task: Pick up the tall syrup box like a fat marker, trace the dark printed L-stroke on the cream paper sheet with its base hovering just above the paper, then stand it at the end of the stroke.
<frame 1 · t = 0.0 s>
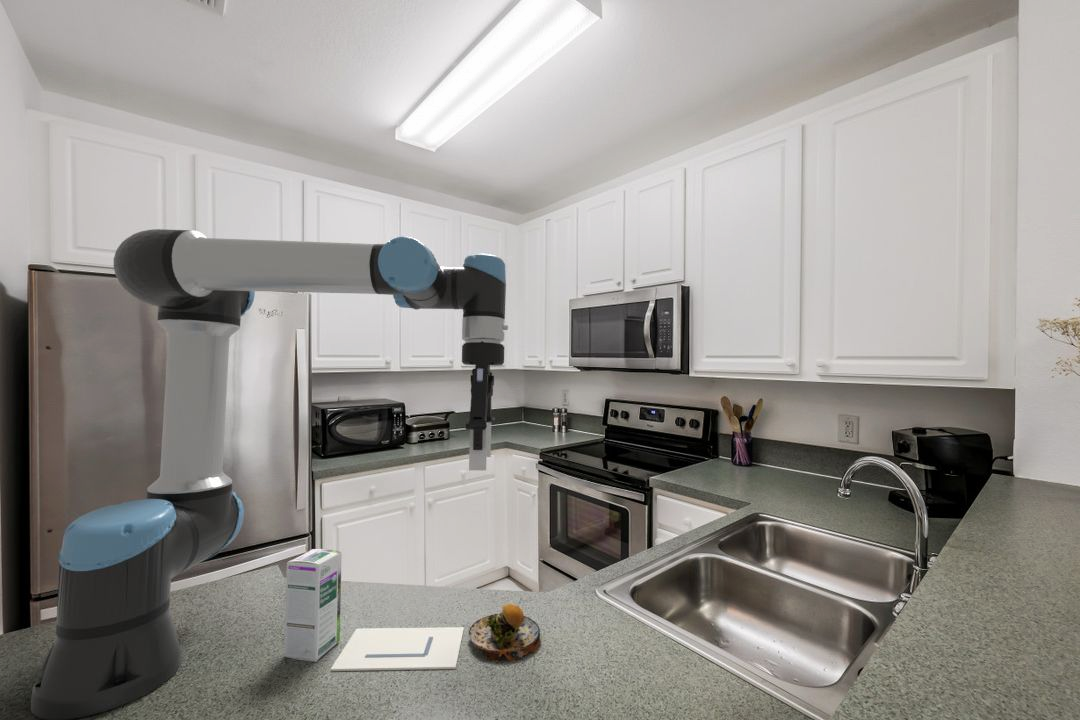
hand: (480, 463, 81), 28 cm above the worktop, fingers open, 13 cm apart
paper: (402, 648, 72), on the worktop
syrup box: (311, 651, 72), on the worktop
salad plate: (504, 643, 75), on the worktop
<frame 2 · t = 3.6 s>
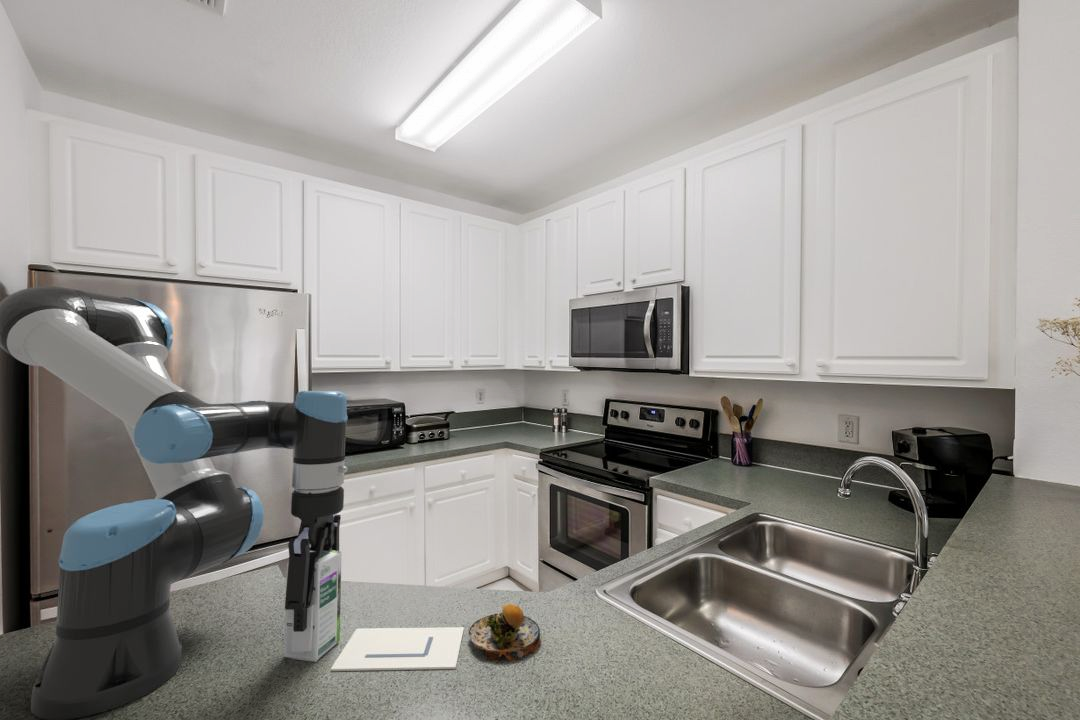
hand: (312, 636, 72), 2 cm above the worktop, fingers closed on syrup box, 6 cm apart
syrup box: (311, 651, 72), on the worktop, touching gripper
everything else where it was.
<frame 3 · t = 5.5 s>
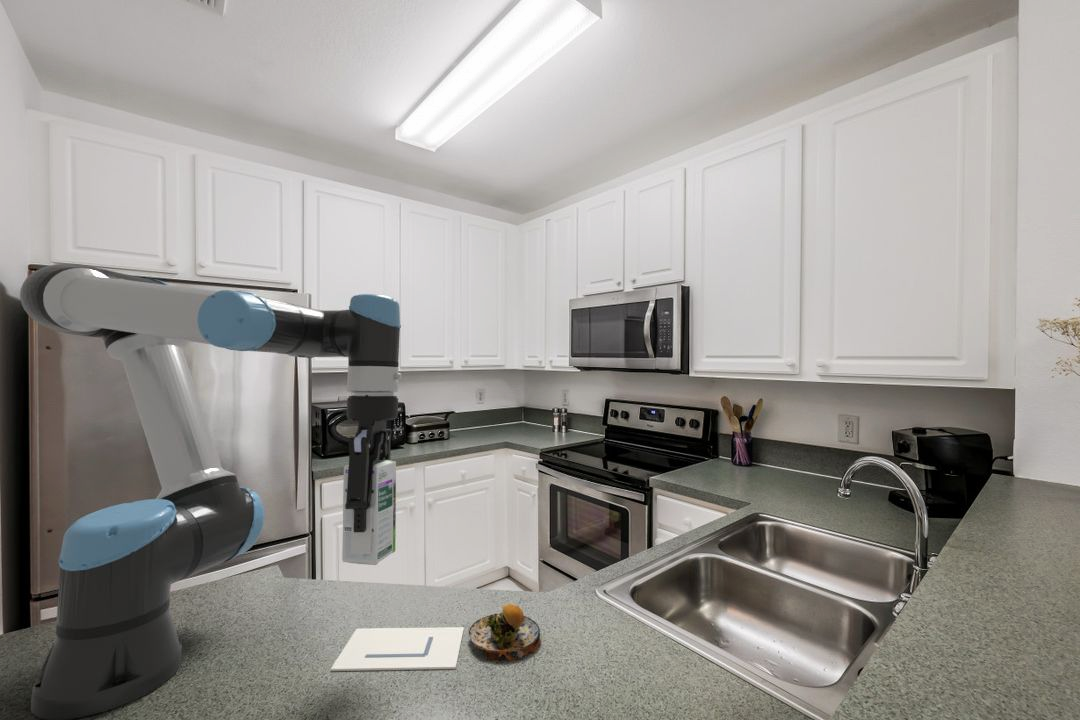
hand: (369, 544, 71), 17 cm above the worktop, fingers closed on syrup box, 6 cm apart
syrup box: (368, 558, 70), point 15 cm above the worktop, touching gripper
everything else where it was.
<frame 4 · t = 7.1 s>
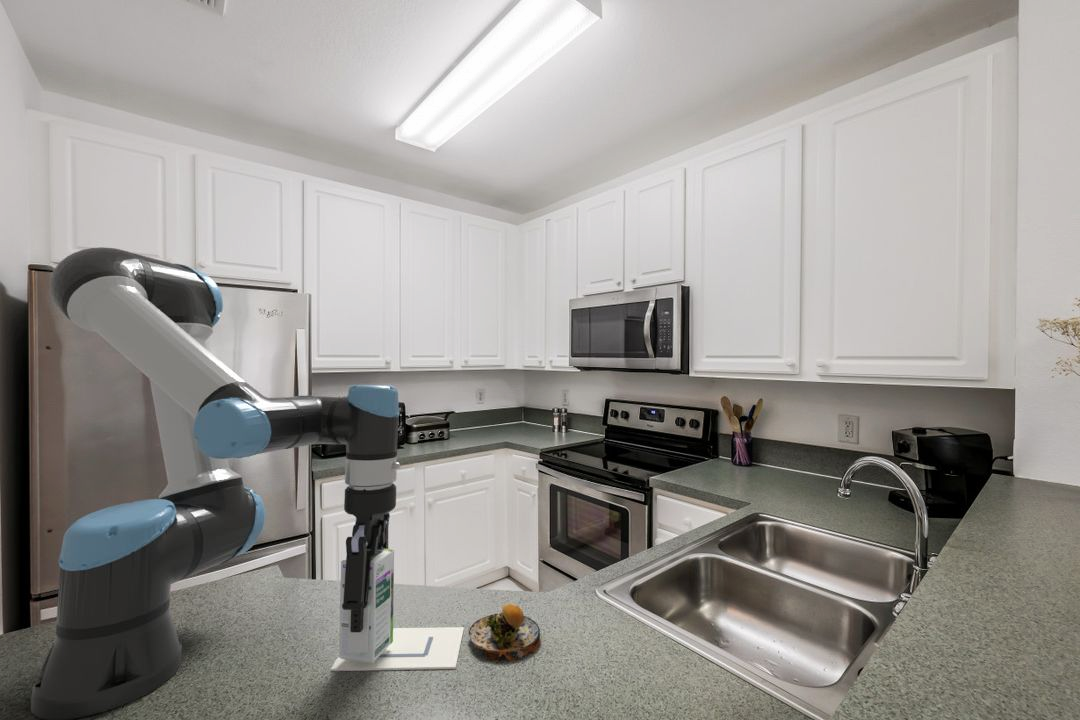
hand: (366, 637, 70), 3 cm above the worktop, fingers closed on syrup box, 6 cm apart
syrup box: (365, 652, 70), point 1 cm above the worktop, touching gripper
everything else where it was.
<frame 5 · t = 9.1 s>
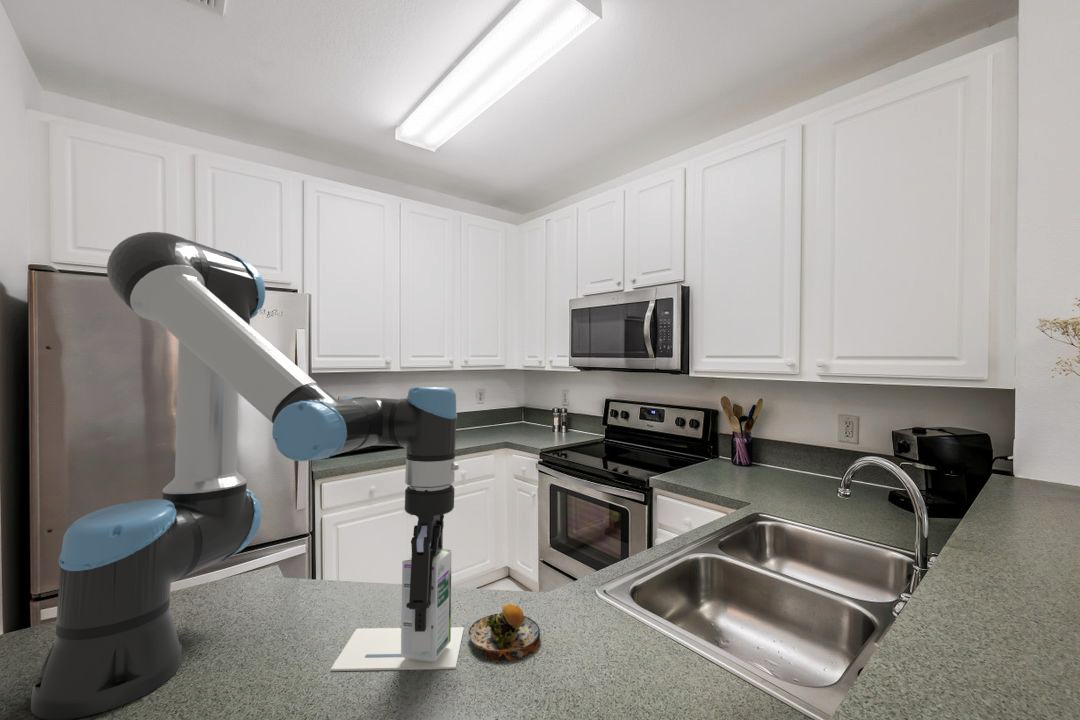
hand: (425, 636, 71), 3 cm above the worktop, fingers closed on syrup box, 6 cm apart
syrup box: (425, 651, 70), point 1 cm above the worktop, touching gripper
everything else where it was.
when the fingers open (3 cm above the worktop, at t = 10.9 s): syrup box stays where it is, resting on paper.
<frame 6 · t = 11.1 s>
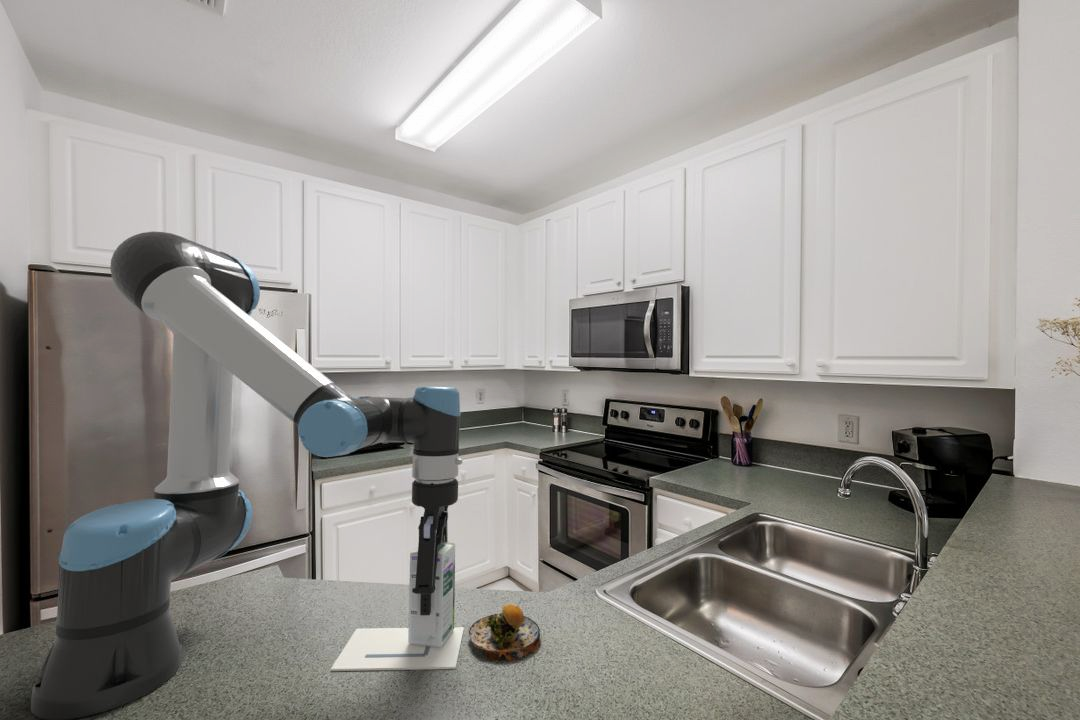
hand: (431, 617, 75), 3 cm above the worktop, fingers open, 9 cm apart
syrup box: (431, 638, 75), resting on paper
everything else where it was.
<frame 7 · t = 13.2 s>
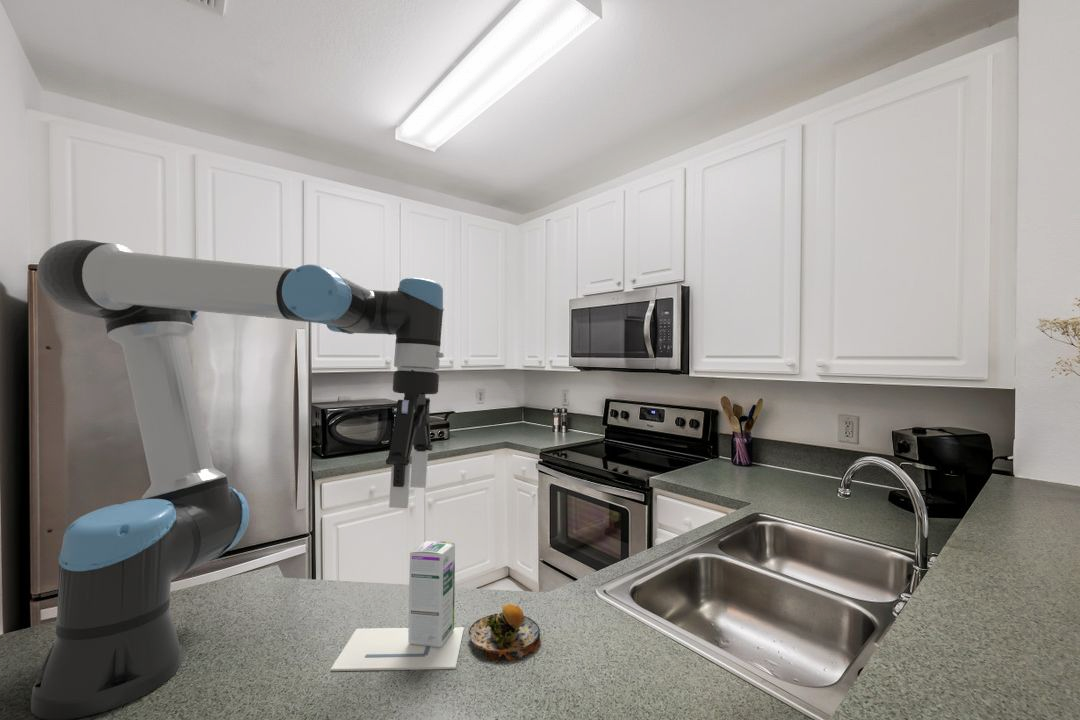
hand: (409, 496, 77), 23 cm above the worktop, fingers open, 13 cm apart
nothing on the worktop moved.
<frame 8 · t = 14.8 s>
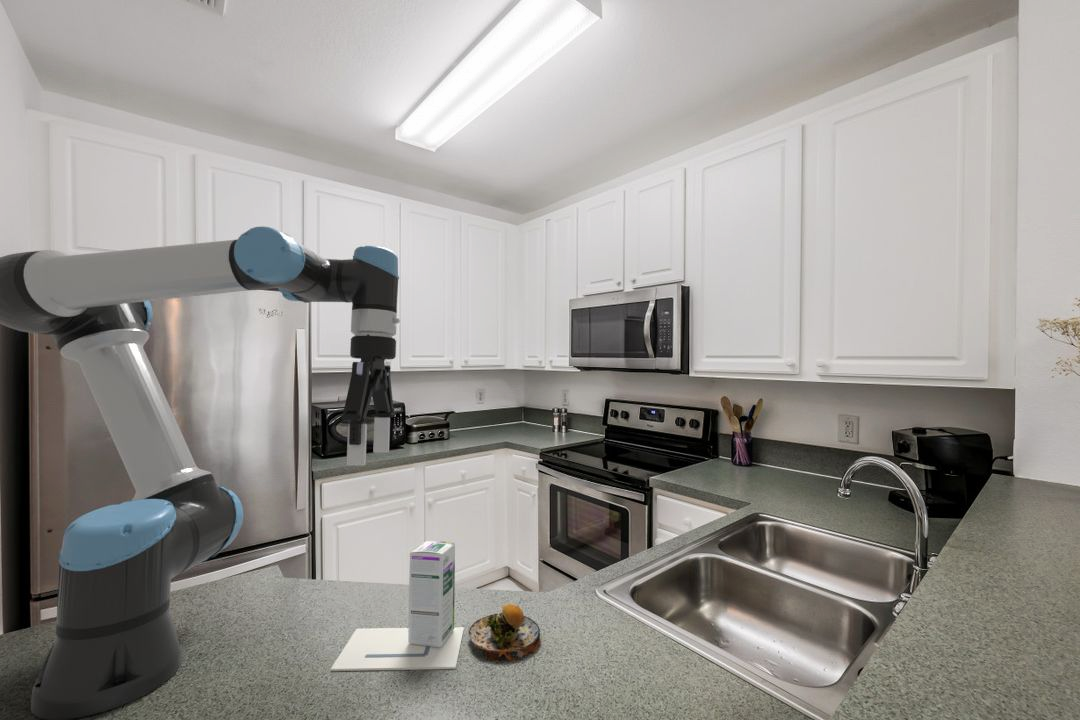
hand: (369, 458, 80), 29 cm above the worktop, fingers open, 13 cm apart
nothing on the worktop moved.
at the end: syrup box inside the target area (0.2 cm from its centre), resting on paper; syrup box tilted 1°; the gripper is holding nothing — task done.
